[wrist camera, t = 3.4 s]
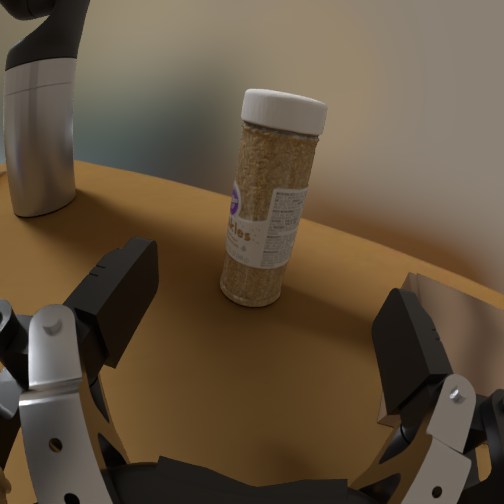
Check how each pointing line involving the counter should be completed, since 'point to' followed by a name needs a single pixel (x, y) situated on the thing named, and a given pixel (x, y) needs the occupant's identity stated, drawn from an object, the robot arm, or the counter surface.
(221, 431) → the counter surface
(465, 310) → the walnut plinth
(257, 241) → the sprinkles bottle
